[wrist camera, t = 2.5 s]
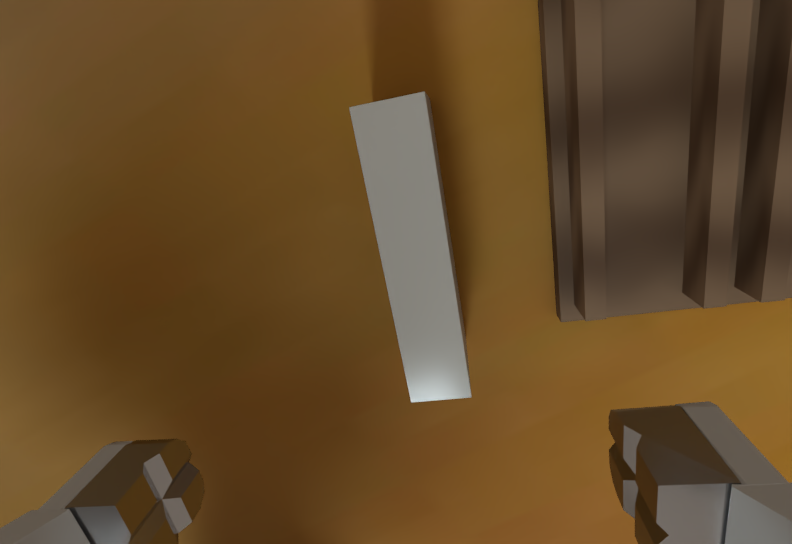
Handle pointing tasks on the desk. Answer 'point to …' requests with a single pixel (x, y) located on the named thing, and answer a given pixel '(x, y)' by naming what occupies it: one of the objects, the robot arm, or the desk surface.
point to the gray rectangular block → (414, 242)
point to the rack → (668, 153)
